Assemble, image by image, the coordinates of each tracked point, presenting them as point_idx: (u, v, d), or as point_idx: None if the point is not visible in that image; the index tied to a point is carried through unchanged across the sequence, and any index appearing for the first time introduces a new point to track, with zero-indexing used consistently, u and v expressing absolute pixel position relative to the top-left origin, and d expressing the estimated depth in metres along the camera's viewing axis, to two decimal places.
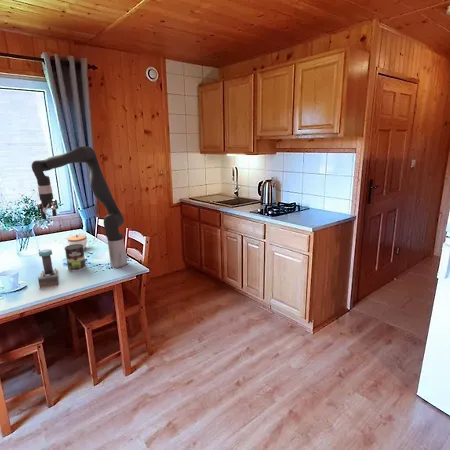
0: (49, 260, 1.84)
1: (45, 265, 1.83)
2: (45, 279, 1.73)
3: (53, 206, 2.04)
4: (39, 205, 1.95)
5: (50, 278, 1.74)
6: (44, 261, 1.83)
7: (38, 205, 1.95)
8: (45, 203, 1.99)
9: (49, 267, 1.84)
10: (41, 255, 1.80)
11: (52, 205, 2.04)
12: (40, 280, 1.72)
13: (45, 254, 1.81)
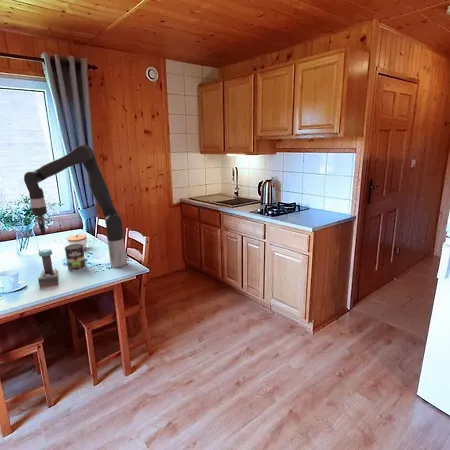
0: (49, 260, 1.84)
1: (45, 265, 1.83)
2: (45, 279, 1.73)
3: None
4: None
5: (50, 278, 1.74)
6: (44, 261, 1.83)
7: None
8: None
9: (49, 267, 1.84)
10: (41, 255, 1.80)
11: None
12: (40, 280, 1.72)
13: (45, 254, 1.81)
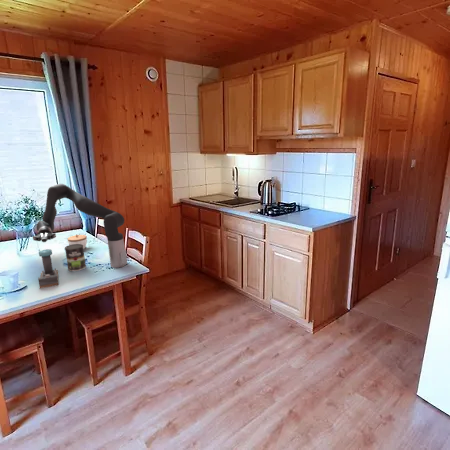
0: (49, 260, 1.84)
1: (45, 265, 1.83)
2: (45, 279, 1.73)
3: None
4: (55, 236, 1.97)
5: (50, 278, 1.74)
6: (44, 261, 1.83)
7: (54, 235, 1.97)
8: None
9: (49, 267, 1.84)
10: (41, 255, 1.80)
11: None
12: (40, 280, 1.72)
13: (45, 254, 1.81)
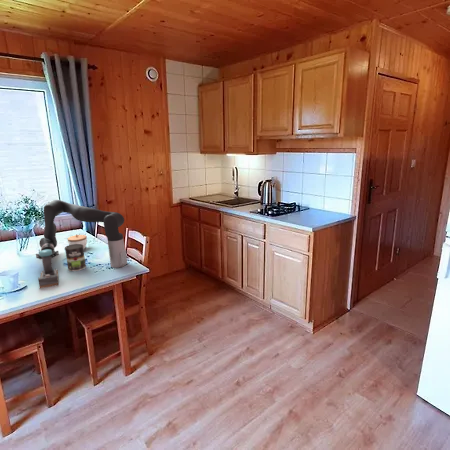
0: (49, 260, 1.84)
1: (45, 265, 1.83)
2: (45, 279, 1.73)
3: None
4: (57, 253, 2.00)
5: (50, 278, 1.74)
6: (44, 261, 1.83)
7: (57, 252, 2.00)
8: None
9: (49, 267, 1.84)
10: (41, 255, 1.80)
11: None
12: (40, 280, 1.72)
13: (45, 254, 1.81)
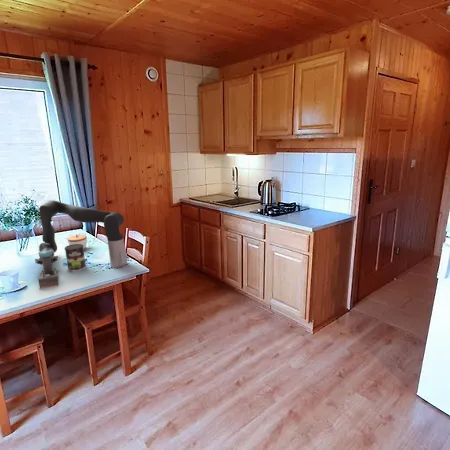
0: (49, 261, 1.83)
1: (45, 266, 1.82)
2: (45, 279, 1.73)
3: None
4: (57, 258, 1.95)
5: (50, 278, 1.74)
6: (44, 262, 1.81)
7: (57, 257, 1.95)
8: None
9: (49, 268, 1.83)
10: (41, 256, 1.79)
11: None
12: (40, 280, 1.72)
13: (45, 255, 1.79)
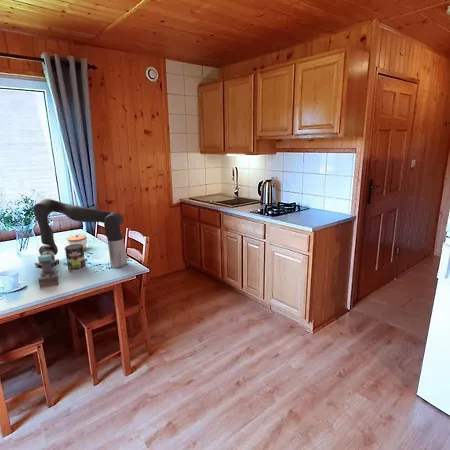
0: (49, 265, 1.76)
1: (45, 271, 1.75)
2: (45, 279, 1.73)
3: None
4: (58, 262, 1.89)
5: (50, 278, 1.74)
6: (44, 266, 1.75)
7: (58, 261, 1.89)
8: None
9: (49, 273, 1.77)
10: (40, 260, 1.73)
11: None
12: (40, 280, 1.72)
13: (45, 259, 1.73)
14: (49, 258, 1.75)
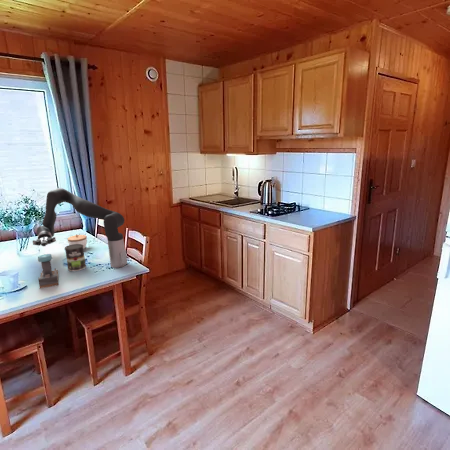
0: (49, 265, 1.76)
1: (45, 271, 1.75)
2: (45, 279, 1.73)
3: None
4: (54, 240, 1.98)
5: (50, 278, 1.74)
6: (44, 266, 1.75)
7: (54, 239, 1.97)
8: None
9: (49, 273, 1.77)
10: (40, 260, 1.73)
11: None
12: (40, 280, 1.72)
13: (45, 259, 1.73)
14: (49, 258, 1.75)
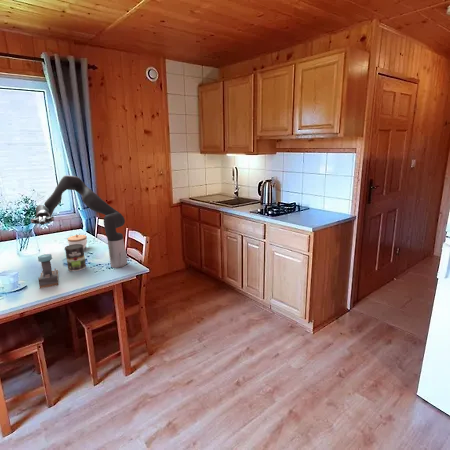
0: (49, 265, 1.76)
1: (45, 271, 1.75)
2: (45, 279, 1.73)
3: None
4: (53, 219, 1.97)
5: (50, 278, 1.74)
6: (44, 266, 1.75)
7: (53, 218, 1.97)
8: None
9: (49, 273, 1.77)
10: (40, 260, 1.73)
11: None
12: (40, 280, 1.72)
13: (45, 259, 1.73)
14: (49, 258, 1.75)
